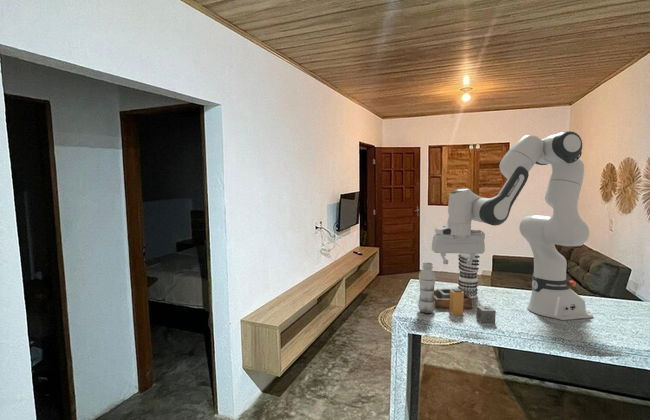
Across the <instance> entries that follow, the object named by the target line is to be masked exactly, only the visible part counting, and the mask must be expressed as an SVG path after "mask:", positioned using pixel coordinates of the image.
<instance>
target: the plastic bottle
mask: <svg viewBox="0 0 650 420" xmlns="http://www.w3.org/2000/svg"><path fill="white" fill-rule="evenodd" d="M433 267H434V266H433V263H432V262H426V261H425V262H423V263H422V270H421V271H420V272H419V274H418V281H419V298H418V304H417V306H418V310H419V312H421V313H425V314H426V313H427V314H431V313H434V312H435V311H436V308H435V301H434V290H435V285H436V279H437V277H436V273H435V271H433Z"/></svg>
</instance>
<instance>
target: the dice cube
mask: <svg viewBox="0 0 650 420" xmlns="http://www.w3.org/2000/svg"><path fill="white" fill-rule="evenodd" d="M475 312H476V313H475V314H476V316H475V317H476V319H477V320H478V322H479V323H481V324H483V325H485V324H489V325H490V324H493V325H495V324H496V317H497V316H496V315H497V314H496V313H497V312H496V309H494V307H492V306H490V305H476V311H475Z"/></svg>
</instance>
